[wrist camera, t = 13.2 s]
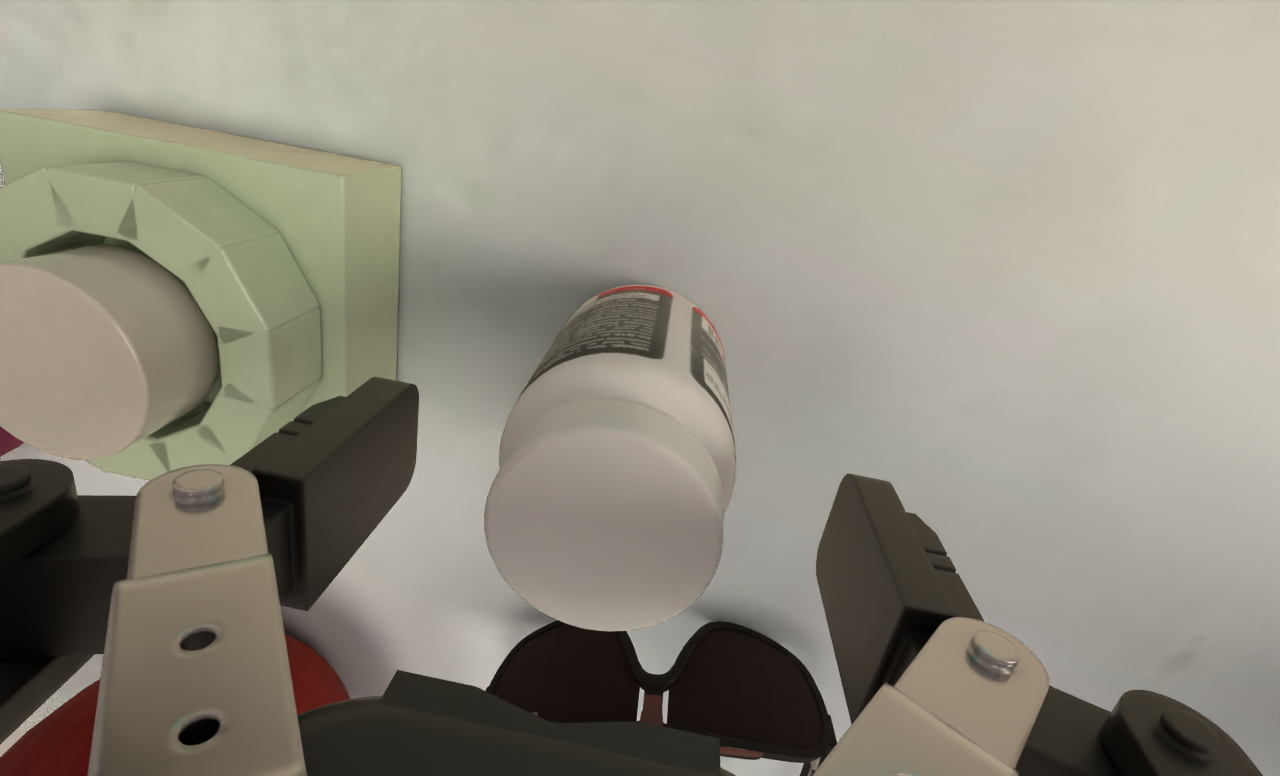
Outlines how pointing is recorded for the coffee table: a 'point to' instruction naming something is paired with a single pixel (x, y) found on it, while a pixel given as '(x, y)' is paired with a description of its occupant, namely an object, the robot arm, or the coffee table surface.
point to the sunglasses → (676, 689)
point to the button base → (222, 258)
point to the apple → (61, 743)
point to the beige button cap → (98, 350)
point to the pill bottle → (617, 465)
